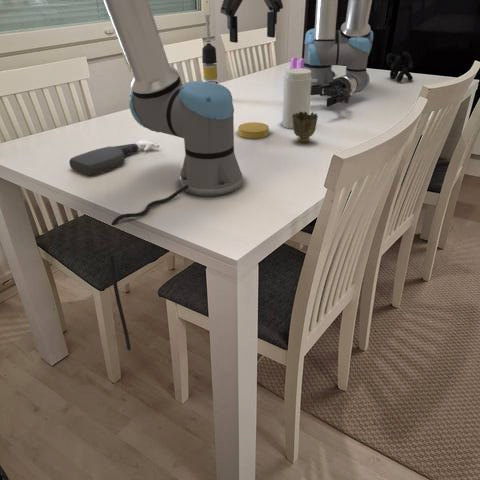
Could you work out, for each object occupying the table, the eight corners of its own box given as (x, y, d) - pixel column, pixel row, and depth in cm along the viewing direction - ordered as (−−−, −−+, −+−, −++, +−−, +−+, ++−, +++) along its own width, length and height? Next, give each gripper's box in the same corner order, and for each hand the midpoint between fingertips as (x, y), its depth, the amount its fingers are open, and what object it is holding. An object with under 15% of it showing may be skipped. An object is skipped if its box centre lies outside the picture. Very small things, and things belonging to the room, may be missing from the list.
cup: (287, 143, 133) (288, 116, 129) (296, 135, 139) (297, 110, 135) (310, 147, 130) (312, 119, 126) (319, 139, 136) (321, 113, 132)
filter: (220, 99, 177) (217, 15, 161) (206, 100, 176) (202, 16, 160) (215, 96, 182) (212, 14, 166) (202, 97, 180) (197, 14, 164)
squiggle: (400, 92, 202) (376, 71, 205) (417, 76, 202) (392, 56, 205) (405, 81, 191) (380, 59, 194) (423, 64, 191) (397, 42, 194)
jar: (287, 130, 144) (289, 74, 135) (278, 122, 151) (280, 69, 142) (312, 127, 146) (316, 72, 137) (302, 120, 153) (305, 67, 144)
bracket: (300, 74, 213) (301, 59, 210) (290, 73, 216) (290, 57, 213) (313, 69, 222) (314, 54, 218) (303, 68, 225) (304, 53, 221)
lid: (273, 130, 144) (273, 124, 143) (261, 140, 136) (261, 133, 135) (245, 127, 147) (245, 120, 146) (233, 136, 140) (233, 129, 139)
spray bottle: (67, 168, 120) (139, 144, 136) (91, 178, 114) (163, 151, 130) (65, 157, 118) (137, 134, 134) (89, 167, 112) (162, 142, 128)
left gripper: (221, -50, 107) (225, 45, 118) (297, -50, 120) (294, 36, 131) (204, -49, 112) (209, 42, 123) (279, -49, 125) (277, 33, 136)
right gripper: (371, 103, 159) (341, 117, 146) (312, 92, 173) (280, 104, 160) (374, 81, 155) (344, 93, 142) (313, 72, 169) (280, 82, 156)
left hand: (252, 39), depth 127 cm, fingers open, 13 cm apart
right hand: (310, 99), depth 151 cm, fingers open, 13 cm apart
